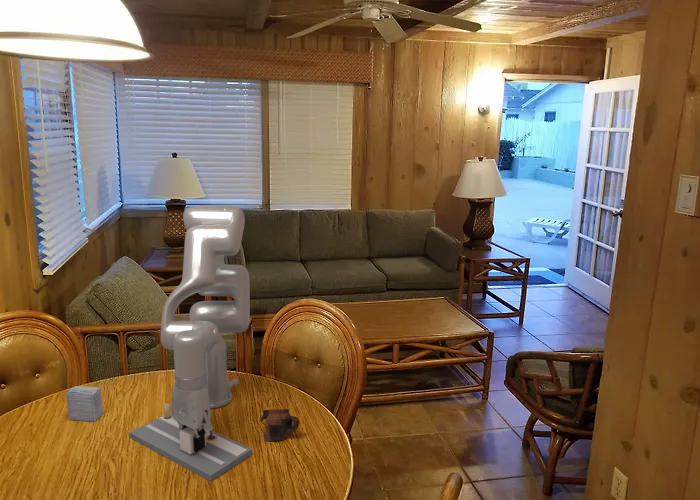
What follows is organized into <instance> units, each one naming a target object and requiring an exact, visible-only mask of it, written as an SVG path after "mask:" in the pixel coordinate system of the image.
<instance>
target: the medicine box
mask: <svg viewBox="0 0 700 500" xmlns="http://www.w3.org/2000/svg"><path fill="white" fill-rule="evenodd" d="M66 400H67V411H68V413H67V415H68V420H69V421H81V422H96V421H98V420H99V418H101V417H102V415H103V414H104V411H103V404H102V403H103V401H102V390H101V387H96V386H84V385H83V386H82V385H81V386H80V385H75V386H74V387H72V388H70V389H69V390H68V391H67V392H66Z"/></svg>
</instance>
